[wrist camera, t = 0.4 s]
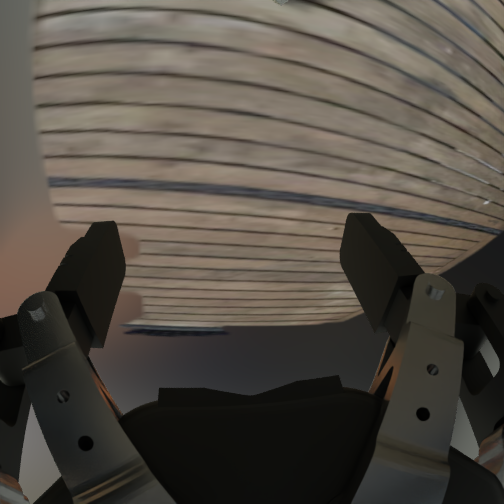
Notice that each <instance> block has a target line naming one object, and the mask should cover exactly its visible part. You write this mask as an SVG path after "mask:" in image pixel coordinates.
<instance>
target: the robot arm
mask: <svg viewBox="0 0 504 504" xmlns="http://www.w3.org/2000/svg"><path fill="white" fill-rule="evenodd" d="M340 263H341V266H342V269H343V270H344V272H345V274H346V276H347V278H348V280H349V282H350V284H351V286H352V288H353V290H354V292H355V294H356V296H357V298H358V300H359V302H360V304H361V306H362V308H363V310H364V312H365V314H366V316H367V318H368V321H369V322H370V325H371V327H372V329H373V331H374V333H375V334H377V333H382V332H388V333H389V335H390V336H389V338H388V340H387V343H386V346H385V349H384V352H383V355H382V358H381V361H380V363H379V366H378V369H377V372H376V375H375V377H374V380H373V383H372V385H371V388H370V389H369V392H365V391H361V390H358V389H353V388H348V387H342V384H341V381H340V378H339V375H336V376H330V377H323V378H316V379H309V380H302V381H296V382H293V383H290V384H287V385H284V386H281V387H279V388H275V389H272V390H269V391H266V392H263V393H260V394H257V395H251V396H248V395H241V394H235V393H229V392H223V391H218V390H212V389H207V388H159V395H158V400H157V401H154V402H150V403H147V404H144V405H141V406H139V407H137V408H135V409H133V410H131V411H130V412H128V413H126V414H125V415H123V413H122V412H121V410H119V408H118V406H117V404H116V403H115V401H114V400H113V398H112V396H111V395H110V393H109V391H108V390H107V388H106V386H105V385H104V383H103V381H102V380H101V378H100V376H99V374H98V372H97V370H96V368H95V367H94V365H93V363H92V361H91V359H90V358H89V356H88V355H89V351H90V348H103V347H104V343H105V339H106V336H107V332H108V329H109V325H110V322H111V318H112V315H113V311H114V308H115V305H116V302H117V298H118V295H119V292H120V289H121V286H122V283H123V280H124V277H125V271H126V263H125V257H124V254H123V249H122V245H121V241H120V237H119V233H118V228H117V225H116V223H115V222H114V221H103V222H94V223H93V224H92V225H91V227H90V228H89V230H88V231H87V233H86V235H85V237H81V238H80V239H78V240H77V241H76V242H75V243H74V244H72V245H71V246H70V248H69V250H68V251H67V253H66V255H65V258H63V260H62V261H61V263H60V266H58V268H57V270H56V272H55V273H54V275H53V277H52V279H51V281H50V282H49V284H48V286H47V288H46V290H45V291H42V292H38V293H35V294H33V295H31V296H30V297H28V298H27V299H26V300H25V301H24V302H23V303H22V304H21V306H20V307H19V309H18V312H17V314H15V315H11V316H8V317H4V318H0V504H30V503H29V500H28V498H27V497H26V496H25V495H24V494H23V491H22V488H21V486H20V484H19V483H18V482H19V472H20V463H21V455H22V448H23V442H24V435H25V430H26V425H27V420H28V415H29V410H30V406H31V404H32V407H33V409H34V412H35V415H36V418H37V421H38V423H39V426H40V429H41V431H42V434H43V436H44V439H45V441H46V443H47V446H48V448H49V450H50V452H51V455H52V457H53V459H54V461H55V463H56V465H57V467H58V470H59V472H60V473H61V477H60V478H59V479H58V480H57V481H56V482H55V483H54V484H53V485H52V486H51V487H50V488H49V489H48V490H46V492H44V493H43V494H42V495H41V496H40V497H39V498H38V499H37V500H36V501H35V502H34V503H33V504H504V295H503V293H502V292H501V291H500V290H499V289H497V288H496V287H494V286H493V285H490V284H487V283H479V284H477V285H476V286H475V288H474V290H473V292H472V294H471V295H466V294H459V293H455V290H454V288H453V287H452V285H451V284H450V283H449V282H448V281H446V280H445V279H444V278H441V277H440V276H438V275H435V274H430V273H425V272H424V271H423V270H422V268H421V267H420V266H419V265H418V263H417V262H416V261H415V259H414V258H413V257H412V256H411V254H410V253H409V252H407V249H406V248H405V247H404V246H403V244H401V242H400V241H399V239H398V238H397V237H396V236H395V235H394V234H393V233H392V232H390V231H389V230H387V229H386V228H384V227H383V226H381V225H380V224H379V223H378V222H377V220H376V219H375V218H374V217H373V216H372V215H371V214H370V213H349V214H348V216H347V219H346V224H345V229H344V234H343V238H342V243H341V248H340ZM487 339H488V340H489V341H490V343H491V345H492V347H493V349H494V350H495V352H496V354H497V356H498V358H499V361H500V368H499V371H498V373H497V374H496V376H495V377H494V378H493V376H492V374H491V372H490V370H489V368H488V366H487V364H486V362H485V360H484V358H483V356H482V354H481V353H480V351H479V350H480V349H481V347H482V346H483V344H484V343H485V342H486V340H487ZM459 397H460V399H461V401H462V403H463V406H464V409H465V411H466V414H467V416H468V419H469V421H470V424H471V427H472V429H473V432H474V435H475V437H476V440H477V443H478V446H479V456H477V457H476V458H475V459H474V460H472V459H471V458H469V457H468V456H466V455H464V454H463V453H461V452H460V451H458V450H457V449H455V448H453V447H452V446H451V445H450V443H451V439H452V434H453V429H454V424H455V419H456V413H457V406H458V400H459Z"/></svg>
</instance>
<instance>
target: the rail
mask: <svg viewBox="0 0 504 504" xmlns="http://www.w3.org/2000/svg"><path fill="white" fill-rule="evenodd" d="M273 1H274V2H275V3H277V4H279V5H283V4H284V3H285V2H287V1H288V0H273Z"/></svg>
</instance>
